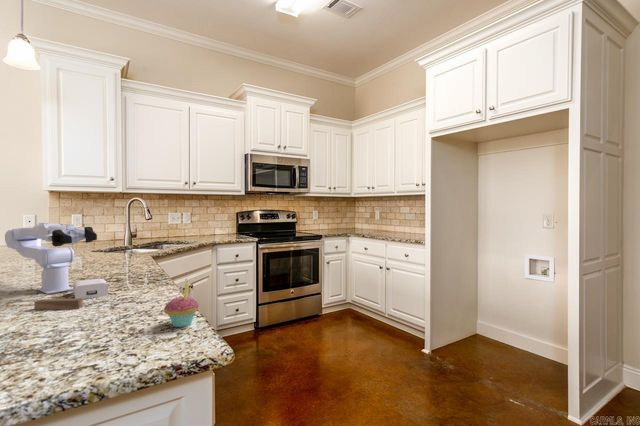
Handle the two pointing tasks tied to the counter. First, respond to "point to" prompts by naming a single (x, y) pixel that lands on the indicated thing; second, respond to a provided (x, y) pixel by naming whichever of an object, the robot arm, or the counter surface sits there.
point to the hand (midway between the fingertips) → (83, 238)
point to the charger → (90, 288)
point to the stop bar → (58, 304)
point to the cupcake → (181, 310)
